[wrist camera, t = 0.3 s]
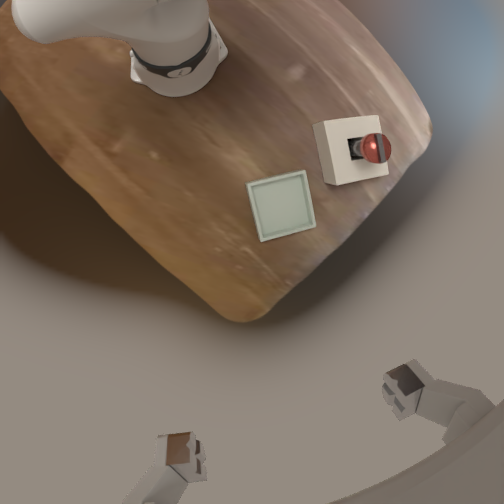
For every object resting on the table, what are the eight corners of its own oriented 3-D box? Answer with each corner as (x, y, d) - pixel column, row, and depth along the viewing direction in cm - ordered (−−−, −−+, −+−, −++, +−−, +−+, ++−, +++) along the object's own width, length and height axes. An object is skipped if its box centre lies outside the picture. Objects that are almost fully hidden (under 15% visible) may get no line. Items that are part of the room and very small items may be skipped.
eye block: (311, 124, 51) (323, 121, 45) (362, 117, 52) (377, 114, 46) (324, 182, 55) (336, 185, 49) (373, 172, 56) (388, 174, 50)
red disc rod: (330, 138, 52) (365, 134, 39) (352, 134, 53) (390, 131, 40) (336, 163, 54) (371, 166, 41) (357, 158, 54) (395, 161, 41)
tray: (244, 182, 53) (246, 183, 50) (300, 169, 53) (305, 170, 51) (258, 237, 57) (260, 242, 54) (311, 223, 57) (316, 226, 54)
